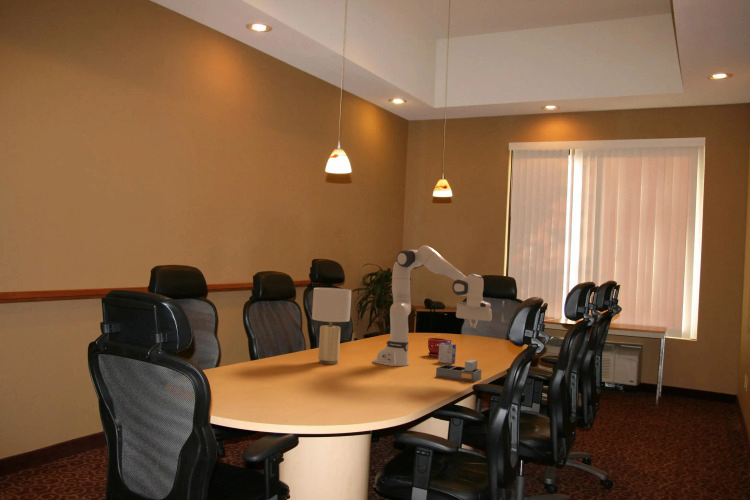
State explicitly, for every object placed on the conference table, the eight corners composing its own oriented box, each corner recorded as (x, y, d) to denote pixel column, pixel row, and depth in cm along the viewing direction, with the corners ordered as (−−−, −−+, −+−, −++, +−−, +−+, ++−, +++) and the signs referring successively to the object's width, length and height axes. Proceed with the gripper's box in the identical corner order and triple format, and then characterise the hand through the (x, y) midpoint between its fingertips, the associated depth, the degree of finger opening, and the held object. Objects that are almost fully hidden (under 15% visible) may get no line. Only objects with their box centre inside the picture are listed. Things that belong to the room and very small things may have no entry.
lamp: (347, 360, 387) (351, 289, 387) (346, 367, 364) (351, 291, 364) (310, 358, 386) (314, 287, 387) (307, 365, 364) (312, 289, 364)
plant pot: (447, 358, 418) (448, 340, 418) (427, 357, 418) (428, 339, 418) (445, 355, 431) (446, 337, 431) (426, 354, 431) (427, 336, 431)
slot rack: (435, 376, 353) (436, 367, 353) (444, 372, 366) (445, 364, 366) (473, 382, 343) (473, 373, 343) (480, 378, 356) (481, 369, 356)
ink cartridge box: (455, 363, 400) (456, 340, 401) (451, 364, 396) (453, 341, 396) (441, 361, 406) (443, 338, 406) (437, 362, 401) (439, 339, 401)
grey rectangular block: (464, 377, 348) (465, 361, 348) (469, 375, 357) (470, 359, 357) (471, 379, 346) (472, 362, 346) (476, 376, 355) (477, 360, 355)
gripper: (455, 301, 354) (453, 326, 354) (490, 305, 344) (488, 330, 344) (458, 301, 359) (457, 325, 359) (493, 304, 350) (492, 329, 350)
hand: (473, 327), depth 352 cm, fingers closed
